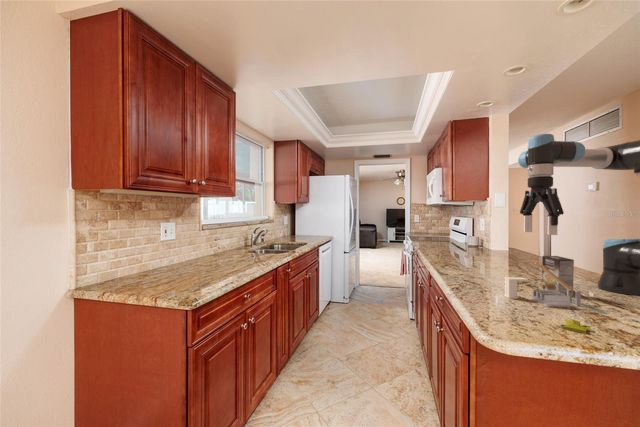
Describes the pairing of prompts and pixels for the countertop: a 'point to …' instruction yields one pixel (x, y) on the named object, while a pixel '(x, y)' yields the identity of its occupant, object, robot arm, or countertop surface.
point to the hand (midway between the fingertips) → (539, 233)
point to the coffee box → (557, 273)
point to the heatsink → (551, 298)
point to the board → (578, 303)
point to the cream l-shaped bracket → (512, 286)
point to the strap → (555, 277)
